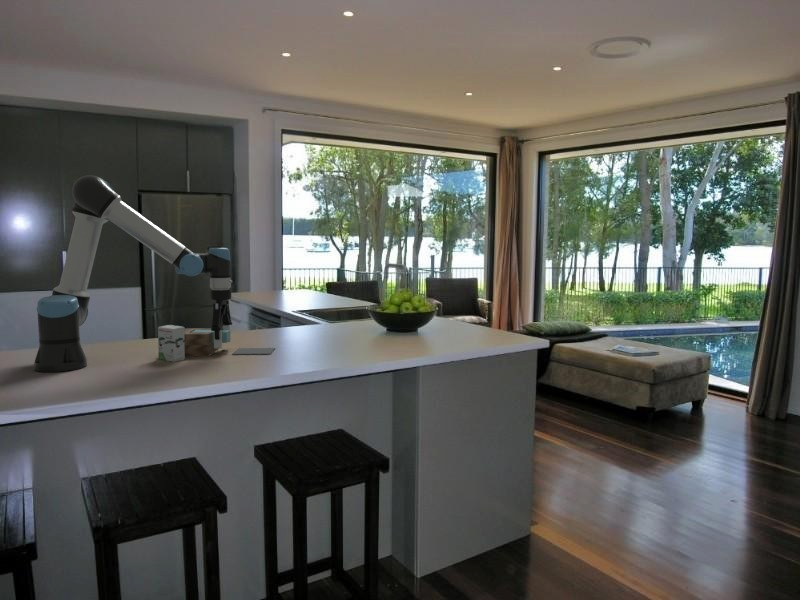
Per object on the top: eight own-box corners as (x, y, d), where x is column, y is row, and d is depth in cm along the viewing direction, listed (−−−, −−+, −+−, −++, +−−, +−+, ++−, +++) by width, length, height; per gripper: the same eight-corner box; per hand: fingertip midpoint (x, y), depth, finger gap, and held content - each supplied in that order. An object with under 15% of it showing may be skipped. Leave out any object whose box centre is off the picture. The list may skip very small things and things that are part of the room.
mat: (232, 354, 222) (232, 353, 222) (239, 349, 234) (239, 348, 234) (270, 354, 222) (270, 353, 222) (275, 348, 234) (275, 347, 234)
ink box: (157, 359, 213) (156, 326, 212) (169, 357, 217) (168, 324, 216) (174, 361, 209) (173, 328, 208) (185, 359, 213) (184, 326, 212)
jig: (164, 355, 219) (163, 334, 218) (177, 348, 234) (176, 328, 233) (209, 355, 220) (208, 334, 219) (219, 348, 235) (218, 328, 234)
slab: (191, 343, 223) (191, 332, 223) (196, 340, 229) (195, 330, 229) (226, 342, 224) (226, 332, 224) (230, 340, 230) (230, 329, 230)
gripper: (222, 291, 213) (224, 350, 215) (238, 286, 238) (239, 339, 240) (201, 291, 213) (203, 351, 215) (218, 286, 237) (220, 339, 239)
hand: (222, 345), depth 227 cm, fingers open, 13 cm apart
